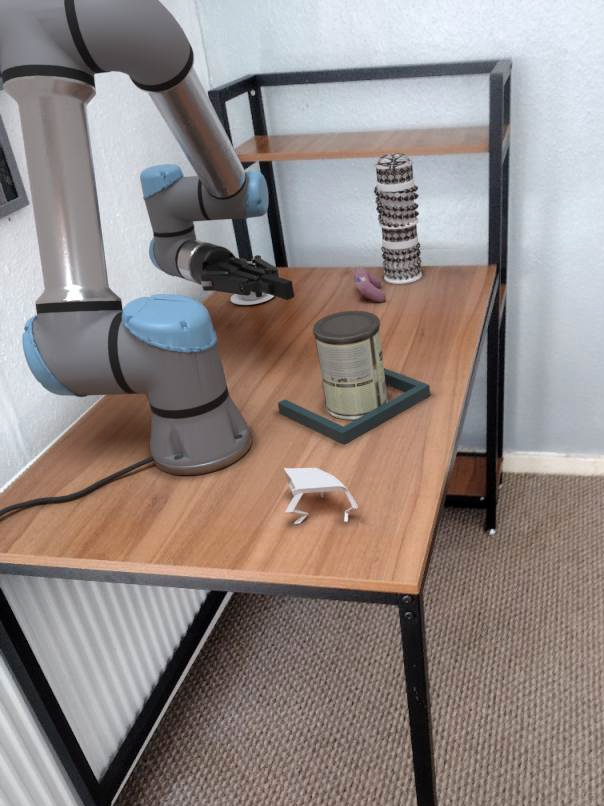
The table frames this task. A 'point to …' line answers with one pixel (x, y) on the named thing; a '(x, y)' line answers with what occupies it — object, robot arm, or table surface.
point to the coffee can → (351, 363)
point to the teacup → (250, 298)
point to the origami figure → (313, 487)
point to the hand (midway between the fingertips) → (289, 290)
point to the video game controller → (368, 285)
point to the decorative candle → (398, 218)
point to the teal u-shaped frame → (345, 434)
